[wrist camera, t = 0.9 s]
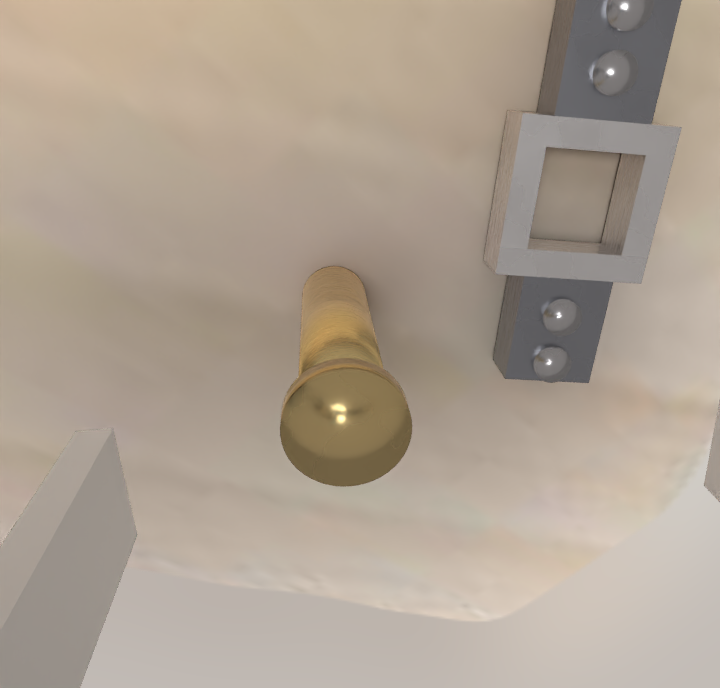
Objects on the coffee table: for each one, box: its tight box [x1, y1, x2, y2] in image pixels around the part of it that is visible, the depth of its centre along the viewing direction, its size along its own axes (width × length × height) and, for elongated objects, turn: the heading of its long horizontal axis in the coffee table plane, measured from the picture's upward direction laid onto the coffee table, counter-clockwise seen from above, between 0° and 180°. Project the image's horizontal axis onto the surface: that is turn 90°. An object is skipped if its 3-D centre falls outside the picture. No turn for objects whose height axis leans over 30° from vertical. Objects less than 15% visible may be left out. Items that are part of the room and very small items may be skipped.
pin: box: [280, 266, 412, 486], centre depth 27 cm, size 4×4×14 cm
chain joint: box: [483, 0, 682, 383], centre depth 31 cm, size 18×7×3 cm, turn 175°
